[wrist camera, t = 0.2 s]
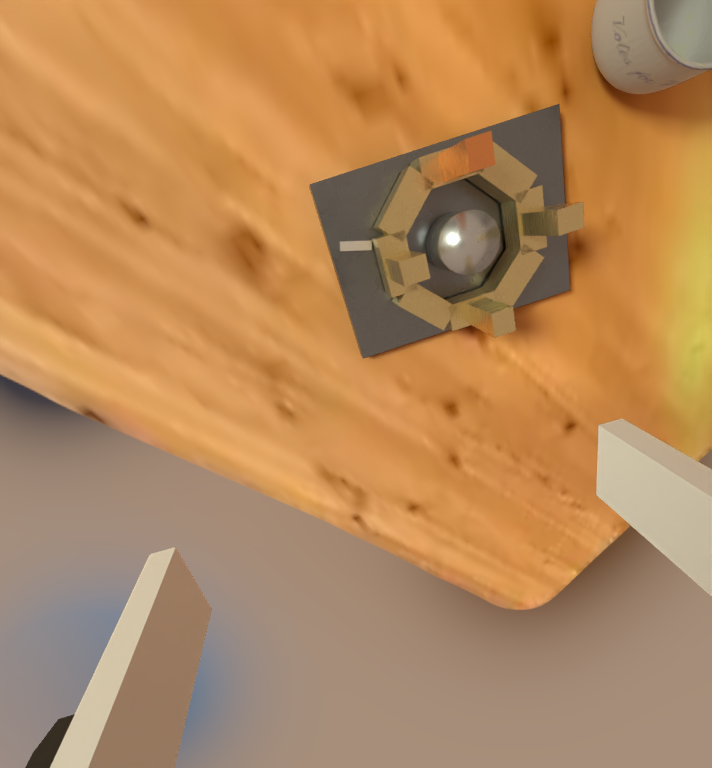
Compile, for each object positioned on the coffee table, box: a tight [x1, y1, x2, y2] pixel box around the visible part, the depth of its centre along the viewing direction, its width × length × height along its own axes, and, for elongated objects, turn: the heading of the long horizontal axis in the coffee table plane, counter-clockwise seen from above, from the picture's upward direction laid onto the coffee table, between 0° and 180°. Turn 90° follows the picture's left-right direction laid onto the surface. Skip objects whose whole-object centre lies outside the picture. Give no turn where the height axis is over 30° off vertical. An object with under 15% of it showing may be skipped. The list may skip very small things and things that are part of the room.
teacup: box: [591, 0, 712, 94], centre depth 28 cm, size 14×11×8 cm
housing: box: [309, 104, 570, 358], centre depth 33 cm, size 16×22×6 cm
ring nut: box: [372, 131, 584, 337], centre depth 30 cm, size 14×14×8 cm
